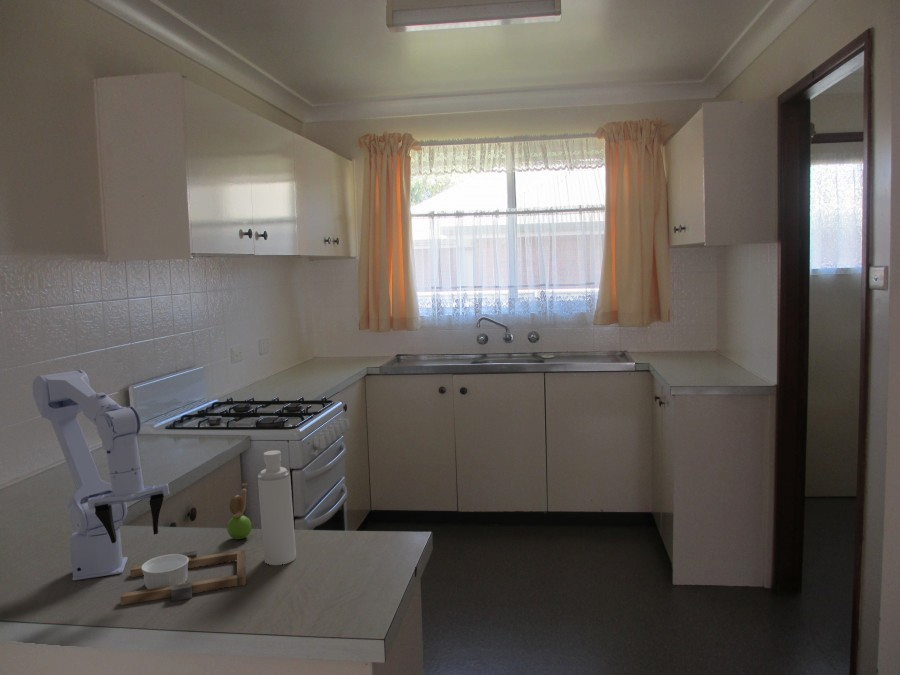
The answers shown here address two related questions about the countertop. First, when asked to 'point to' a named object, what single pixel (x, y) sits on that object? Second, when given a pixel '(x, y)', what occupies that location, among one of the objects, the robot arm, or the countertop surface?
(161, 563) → the ramekin
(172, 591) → the brown flat frame
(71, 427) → the robot arm
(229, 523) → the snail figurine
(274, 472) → the white bottle
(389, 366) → the countertop surface
